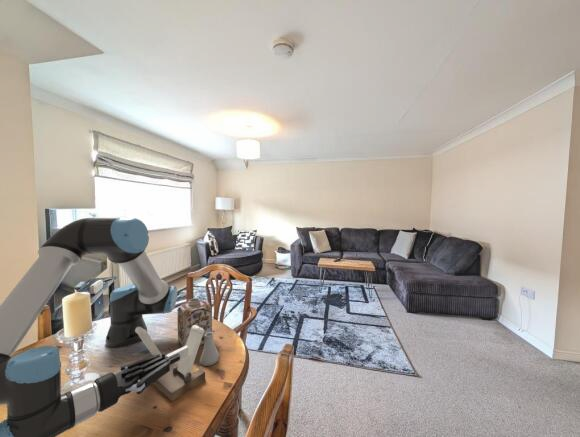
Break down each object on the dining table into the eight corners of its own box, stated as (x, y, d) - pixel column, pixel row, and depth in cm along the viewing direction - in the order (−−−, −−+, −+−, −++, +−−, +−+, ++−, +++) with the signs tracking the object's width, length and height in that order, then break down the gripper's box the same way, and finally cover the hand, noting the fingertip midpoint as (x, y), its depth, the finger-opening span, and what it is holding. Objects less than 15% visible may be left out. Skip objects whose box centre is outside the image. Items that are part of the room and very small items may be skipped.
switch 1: (159, 362, 79) (140, 334, 74) (152, 356, 83) (132, 329, 78) (165, 357, 81) (146, 329, 76) (157, 352, 84) (138, 324, 79)
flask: (213, 367, 81) (212, 340, 81) (195, 365, 82) (194, 338, 82) (223, 355, 88) (222, 330, 88) (206, 353, 90) (205, 328, 89)
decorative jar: (184, 352, 91) (183, 307, 90) (177, 339, 100) (176, 299, 99) (213, 341, 98) (212, 300, 98) (204, 330, 107) (203, 293, 107)
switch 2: (185, 376, 71) (201, 328, 76) (175, 369, 75) (191, 324, 79) (190, 375, 73) (206, 329, 77) (180, 368, 76) (196, 324, 81)
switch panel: (172, 401, 66) (171, 387, 66) (137, 369, 80) (137, 357, 80) (205, 379, 75) (205, 366, 75) (169, 354, 89) (169, 343, 89)
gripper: (88, 399, 59) (177, 354, 78) (104, 426, 52) (198, 369, 71) (87, 370, 59) (177, 332, 78) (103, 393, 52) (198, 345, 71)
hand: (187, 350), depth 75 cm, fingers closed
